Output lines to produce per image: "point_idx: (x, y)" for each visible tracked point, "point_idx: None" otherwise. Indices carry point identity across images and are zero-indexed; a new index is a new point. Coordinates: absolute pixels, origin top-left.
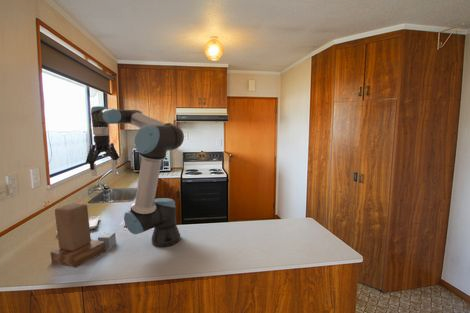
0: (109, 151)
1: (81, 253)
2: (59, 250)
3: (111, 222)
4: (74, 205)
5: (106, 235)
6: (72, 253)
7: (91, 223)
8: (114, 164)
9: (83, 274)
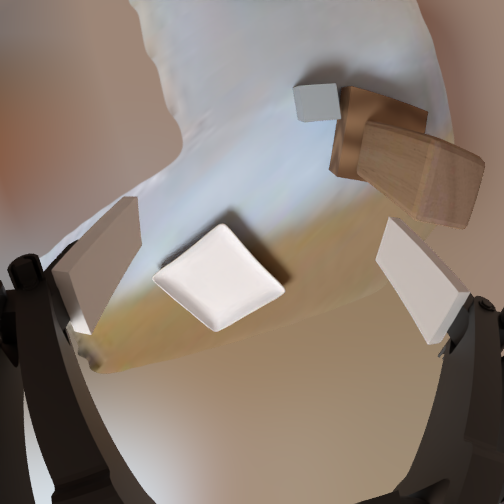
0: (116, 494)
1: (413, 107)
2: None
3: (160, 219)
4: (448, 184)
5: (324, 99)
6: (415, 130)
7: (192, 266)
8: (103, 244)
9: (428, 79)
